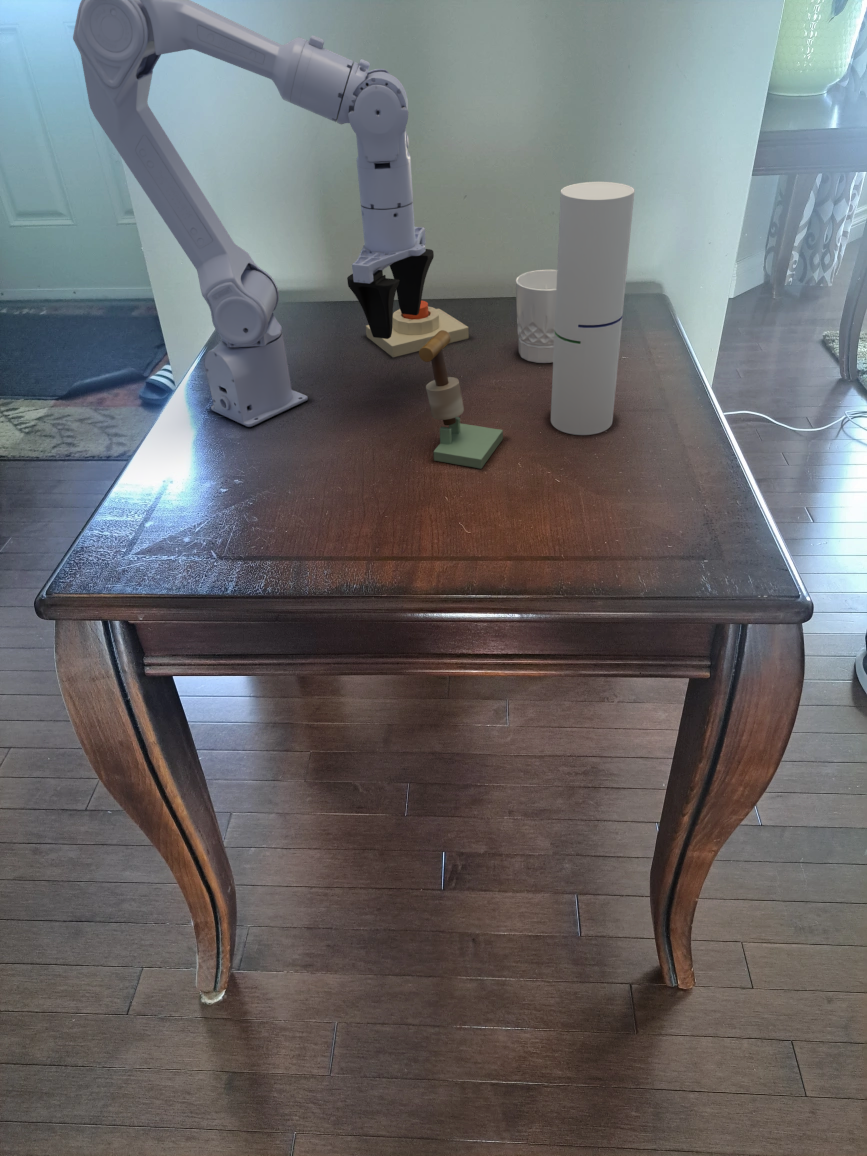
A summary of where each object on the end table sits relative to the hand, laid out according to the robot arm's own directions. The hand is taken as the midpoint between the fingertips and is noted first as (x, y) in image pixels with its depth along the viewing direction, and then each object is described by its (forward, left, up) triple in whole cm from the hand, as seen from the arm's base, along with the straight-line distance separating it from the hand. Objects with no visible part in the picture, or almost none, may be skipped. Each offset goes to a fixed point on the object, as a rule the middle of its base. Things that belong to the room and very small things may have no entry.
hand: (396, 325), depth 98 cm
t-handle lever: (-7, -11, -2) cm, 13 cm away
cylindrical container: (+8, -21, -10) cm, 25 cm away
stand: (-5, -15, -9) cm, 19 cm away
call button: (+15, +12, -6) cm, 20 cm away
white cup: (+21, -6, -10) cm, 24 cm away
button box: (+15, +12, -9) cm, 22 cm away
